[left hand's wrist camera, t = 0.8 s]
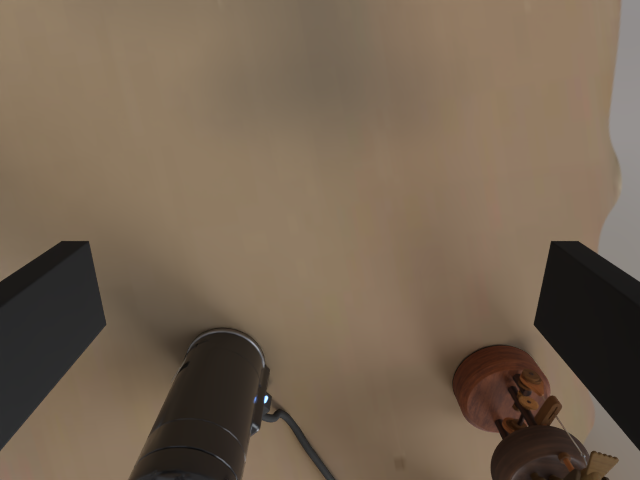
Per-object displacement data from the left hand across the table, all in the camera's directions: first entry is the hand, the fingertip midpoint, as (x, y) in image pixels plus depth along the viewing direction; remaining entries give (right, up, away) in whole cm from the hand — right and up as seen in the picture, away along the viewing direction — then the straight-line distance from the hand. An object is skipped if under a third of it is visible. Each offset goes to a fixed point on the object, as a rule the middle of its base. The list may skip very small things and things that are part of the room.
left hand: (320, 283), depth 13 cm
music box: (+22, -17, +42) cm, 50 cm away
